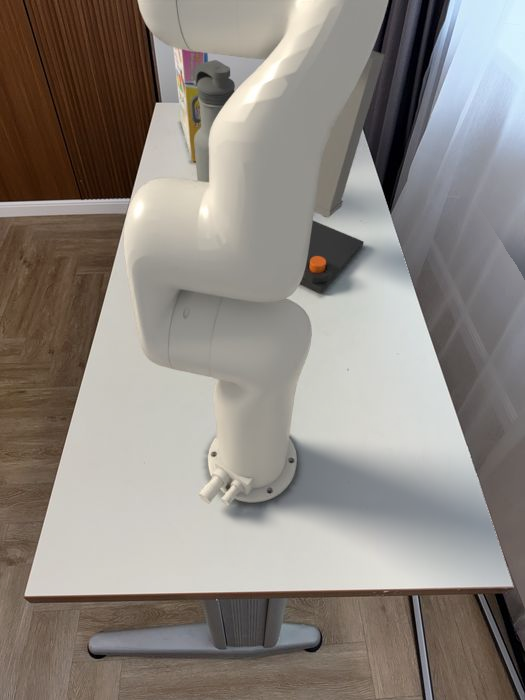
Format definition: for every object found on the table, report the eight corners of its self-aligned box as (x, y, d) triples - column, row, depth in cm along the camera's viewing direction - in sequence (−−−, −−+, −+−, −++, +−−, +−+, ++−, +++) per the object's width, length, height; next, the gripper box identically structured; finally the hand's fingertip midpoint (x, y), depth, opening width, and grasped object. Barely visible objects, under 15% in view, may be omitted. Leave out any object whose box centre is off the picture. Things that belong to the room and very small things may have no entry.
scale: (321, 294, 94) (323, 282, 92) (251, 261, 100) (251, 248, 97) (362, 247, 103) (365, 235, 101) (296, 219, 109) (297, 207, 106)
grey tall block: (341, 207, 91) (387, 54, 75) (328, 219, 87) (373, 59, 71) (276, 180, 95) (306, 28, 79) (260, 190, 91) (288, 31, 74)
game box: (213, 160, 123) (207, 36, 102) (191, 162, 122) (180, 38, 101) (200, 120, 136) (192, 3, 115) (180, 122, 135) (168, 4, 114)
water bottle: (189, 195, 114) (176, 61, 92) (225, 181, 118) (220, 50, 96) (214, 217, 109) (207, 81, 87) (251, 202, 113) (252, 68, 91)
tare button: (320, 275, 93) (321, 268, 92) (306, 269, 94) (307, 262, 93) (327, 267, 95) (329, 259, 94) (314, 260, 96) (315, 253, 95)
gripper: (346, -57, 58) (326, 103, 72) (405, -81, 67) (378, 65, 81) (291, -67, 61) (282, 89, 75) (356, -89, 70) (337, 54, 84)
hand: (332, 75), depth 78 cm, fingers closed on grey tall block, 4 cm apart
